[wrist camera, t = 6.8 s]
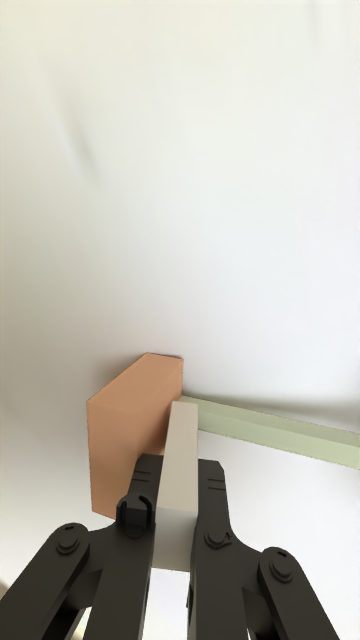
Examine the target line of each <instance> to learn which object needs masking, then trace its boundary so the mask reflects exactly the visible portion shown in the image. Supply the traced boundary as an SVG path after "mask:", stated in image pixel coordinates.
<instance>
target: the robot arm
mask: <svg viewBox="0 0 360 640" xmlns="http://www.w3.org/2000/svg"><path fill="white" fill-rule="evenodd" d="M151 567H152V568H160V569H168V570H176V571H184V572H190V583H189V590H188V597H187V604H186V607H187V608H188V626H187V640H249V639H248V632H249V635H250V638H251V640H340V639H339V637H338V635H337V634H336V632H335V630H334V628H333V626H332V624H331V622H330V620H329V619H328V617H327V615H326V613H325V611H324V609H323V607H322V605H321V604H320V602H319V600H318V598H317V596H316V594H315V592H314V590H313V588H312V587H311V585H310V583H309V581H308V579H307V577H306V575H305V573H304V572H303V570H302V568H301V566H300V564H299V563H298V562H297V560H296V559H295V557H293V556H292V555H291V554H290V553H289V552H287V551H286V550H283V549H281V548H279V547H269V548H266V549H264V551H263V552H262V553H261V552H259V551H257V550H255V549H252V548H250V547H248V546H247V545H245V544H243V543H242V542H241V541H240V540H239V539H238V538H237V537H236V536H235V534H234V533H233V531H232V529H231V525H230V519H229V510H228V502H227V493H226V485H225V476H224V470H223V468H222V467H221V465H220V463H219V462H218V461H212V460H204V459H198V404H196V403H187V402H178V401H172V408H171V414H170V421H169V427H168V434H167V440H166V447H165V453H164V456H163V455H155V454H146V453H143V454H142V455H141V456H140V457H139V458H138V460H137V461H136V464H135V467H134V472H133V475H132V478H131V482H130V485H129V489H128V493H127V495H125V496H124V497H123V498H121V499H120V500H119V502H118V504H117V506H116V521H115V522H114V523H113V524H112V525H110V526H108V527H106V528H103V529H99V530H94V531H88V529H87V528H86V527H85V526H84V525H82V524H80V523H68V524H65V525H63V526H61V527H59V528H57V529H56V530H55V531H54V532H53V533H52V534H51V535H50V536H49V538H48V539H47V540H46V542H45V543H44V544H43V546H42V547H41V548H40V549H39V551H38V552H37V553H36V555H35V556H34V557H33V559H32V560H31V561H30V562H29V564H28V565H27V566H26V568H25V569H24V570H23V571H22V573H21V574H20V575H19V577H18V578H17V579H16V581H15V582H14V583H13V584H12V586H11V587H10V588H9V590H8V591H7V592H6V594H5V595H4V596H3V597H2V599H1V600H0V640H70V639H71V637H72V635H73V633H74V631H75V629H76V628H77V626H78V624H79V622H80V620H81V618H82V616H83V614H84V612H85V610H86V608H88V607H91V606H92V609H91V612H90V615H89V619H88V622H87V626H86V629H85V633H84V636H83V640H142V635H143V628H144V620H145V613H146V606H147V599H148V592H149V584H150V574H151ZM247 628H248V631H247Z"/></svg>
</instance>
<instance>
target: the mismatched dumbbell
mask: <svg viewBox="0 0 360 640" xmlns="http://www.w3.org/2000/svg"><path fill="white" fill-rule="evenodd" d="M182 376H183V359H179V358H173V357H168V356H162V355H156V354H151V353H145V354H144V355H143V356H142V357H141V358H139V359H138V360H137V361H136V362H134V363H133V364H132V365H131V366H129V367H128V368H127V369H126V370H125V371H123V372H122V373H121V374H120V375H118V376H117V377H116V378H115V379H114V380H112V381H111V382H110V383H109V384H107V385H106V386H105V387H104V388H102V389H101V390H100V391H99V392H98V393H96V394H95V395H94V396H93V397H91V398H90V399H89V400H88V401H87V422H88V441H89V461H90V481H91V501H92V511H93V512H96V513H98V514H101V515H104V516H106V517H109V518H112V519H114V520H116V506H117V504H118V502H119V500H120V499H121V498H123V497H124V496H125V495H127V493H128V489H129V485H130V482H131V478H132V475H133V472H134V467H135V464H136V461H137V460H138V458H139V457H140V456H141V455H142V454H143V453H146V454H155V455H163V456H164V453H165V447H166V440H167V434H168V427H169V421H170V414H171V408H172V401H178V402H187V403H196V404H198V429H199V430H203V431H207V432H211V433H215V434H219V435H223V436H227V437H231V438H235V439H239V440H243V441H247V442H251V443H255V444H259V445H263V446H267V447H271V448H275V449H279V450H283V451H287V452H291V453H295V454H299V455H303V456H307V457H311V458H315V459H319V460H323V461H327V462H332V463H336V464H340V465H344V466H348V467H352V468H356V469H360V434H358V433H353V432H349V431H344V430H339V429H335V428H330V427H325V426H321V425H316V424H312V423H307V422H302V421H298V420H293V419H288V418H284V417H279V416H275V415H270V414H265V413H261V412H256V411H251V410H247V409H242V408H238V407H233V406H228V405H224V404H219V403H214V402H210V401H205V400H201V399H196V398H191V397H187V396H182Z"/></svg>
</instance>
